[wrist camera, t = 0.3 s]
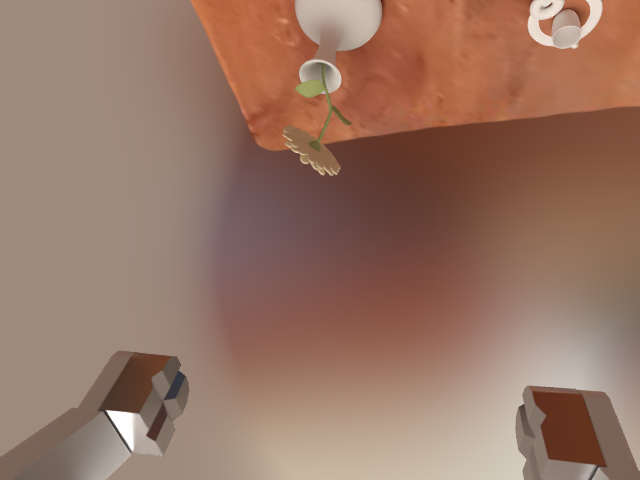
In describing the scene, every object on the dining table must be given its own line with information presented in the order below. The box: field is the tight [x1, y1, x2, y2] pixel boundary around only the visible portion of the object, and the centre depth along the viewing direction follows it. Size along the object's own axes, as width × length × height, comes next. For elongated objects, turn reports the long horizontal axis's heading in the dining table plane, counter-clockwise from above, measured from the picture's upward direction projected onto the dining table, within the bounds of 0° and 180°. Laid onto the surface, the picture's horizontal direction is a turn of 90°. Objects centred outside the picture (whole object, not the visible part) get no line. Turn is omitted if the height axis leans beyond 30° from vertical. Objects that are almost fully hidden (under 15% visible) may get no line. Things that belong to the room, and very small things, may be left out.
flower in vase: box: [283, 0, 382, 176], centre depth 53 cm, size 13×11×25 cm
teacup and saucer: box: [528, 0, 603, 49], centre depth 53 cm, size 9×8×4 cm
